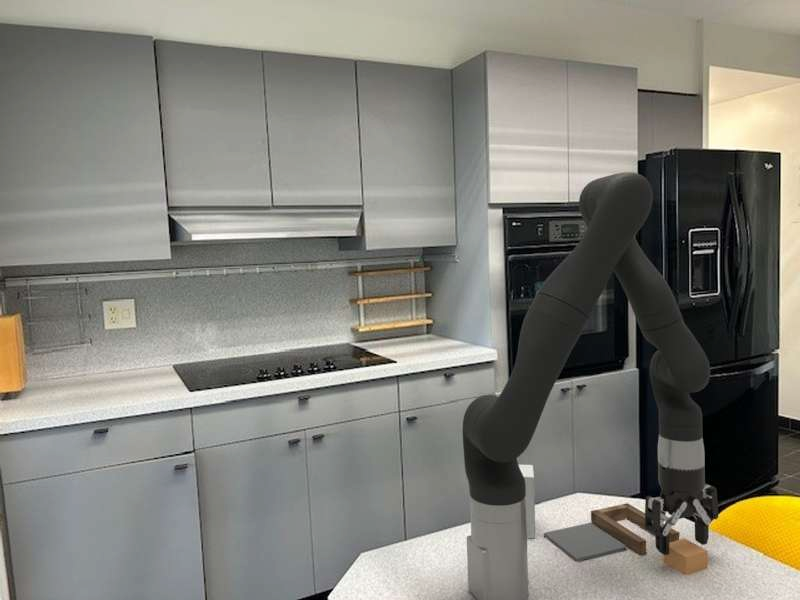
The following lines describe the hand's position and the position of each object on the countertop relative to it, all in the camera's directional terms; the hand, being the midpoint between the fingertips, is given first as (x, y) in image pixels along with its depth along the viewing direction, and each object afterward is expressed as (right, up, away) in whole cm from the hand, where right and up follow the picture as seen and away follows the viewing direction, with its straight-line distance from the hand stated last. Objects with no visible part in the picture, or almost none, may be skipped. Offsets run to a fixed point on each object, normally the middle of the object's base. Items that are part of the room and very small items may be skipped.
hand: (682, 547), depth 109 cm
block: (0, -3, 0) cm, 3 cm away
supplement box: (-27, -3, +16) cm, 31 cm away
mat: (-15, -3, +9) cm, 18 cm away
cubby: (-4, -2, +12) cm, 13 cm away
